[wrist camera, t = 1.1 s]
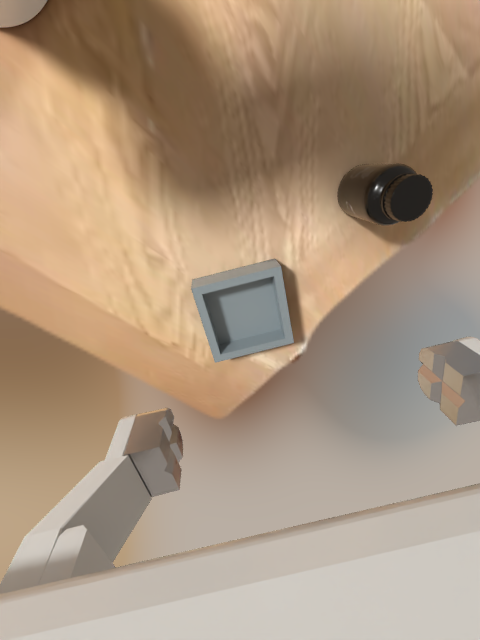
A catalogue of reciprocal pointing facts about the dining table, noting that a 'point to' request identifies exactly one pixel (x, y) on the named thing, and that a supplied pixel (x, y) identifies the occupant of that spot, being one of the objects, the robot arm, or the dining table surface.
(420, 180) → the supplement bottle
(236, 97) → the dining table surface
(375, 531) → the robot arm
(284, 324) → the tray
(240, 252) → the dining table surface
